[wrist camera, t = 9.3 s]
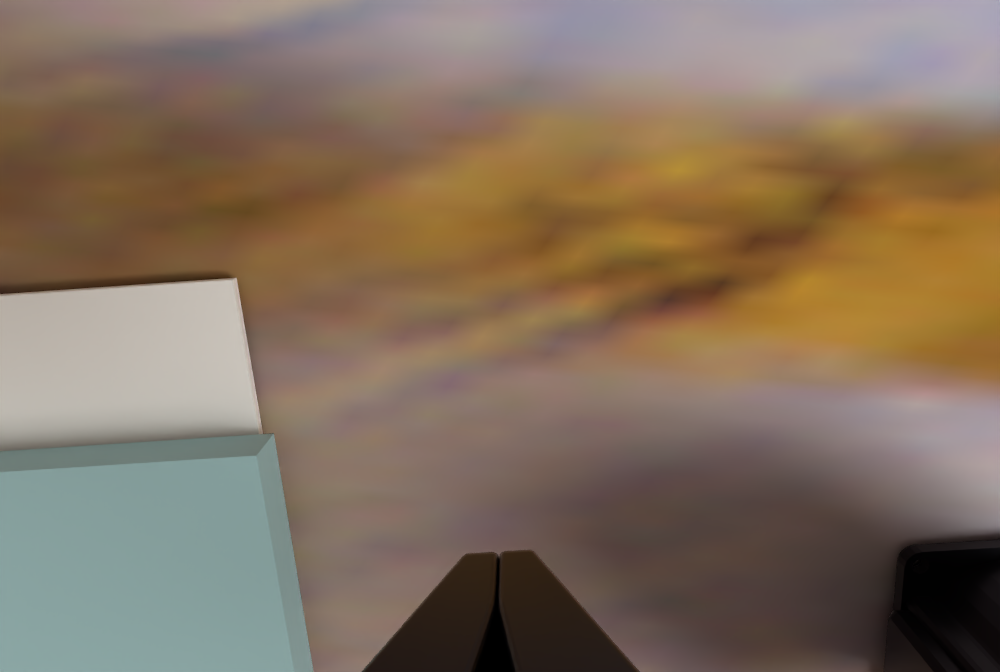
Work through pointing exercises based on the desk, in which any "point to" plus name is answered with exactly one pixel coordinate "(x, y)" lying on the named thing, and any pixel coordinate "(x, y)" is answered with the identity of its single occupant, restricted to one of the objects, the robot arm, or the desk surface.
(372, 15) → the desk surface
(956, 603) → the robot arm
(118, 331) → the mat
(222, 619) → the tile
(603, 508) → the desk surface
